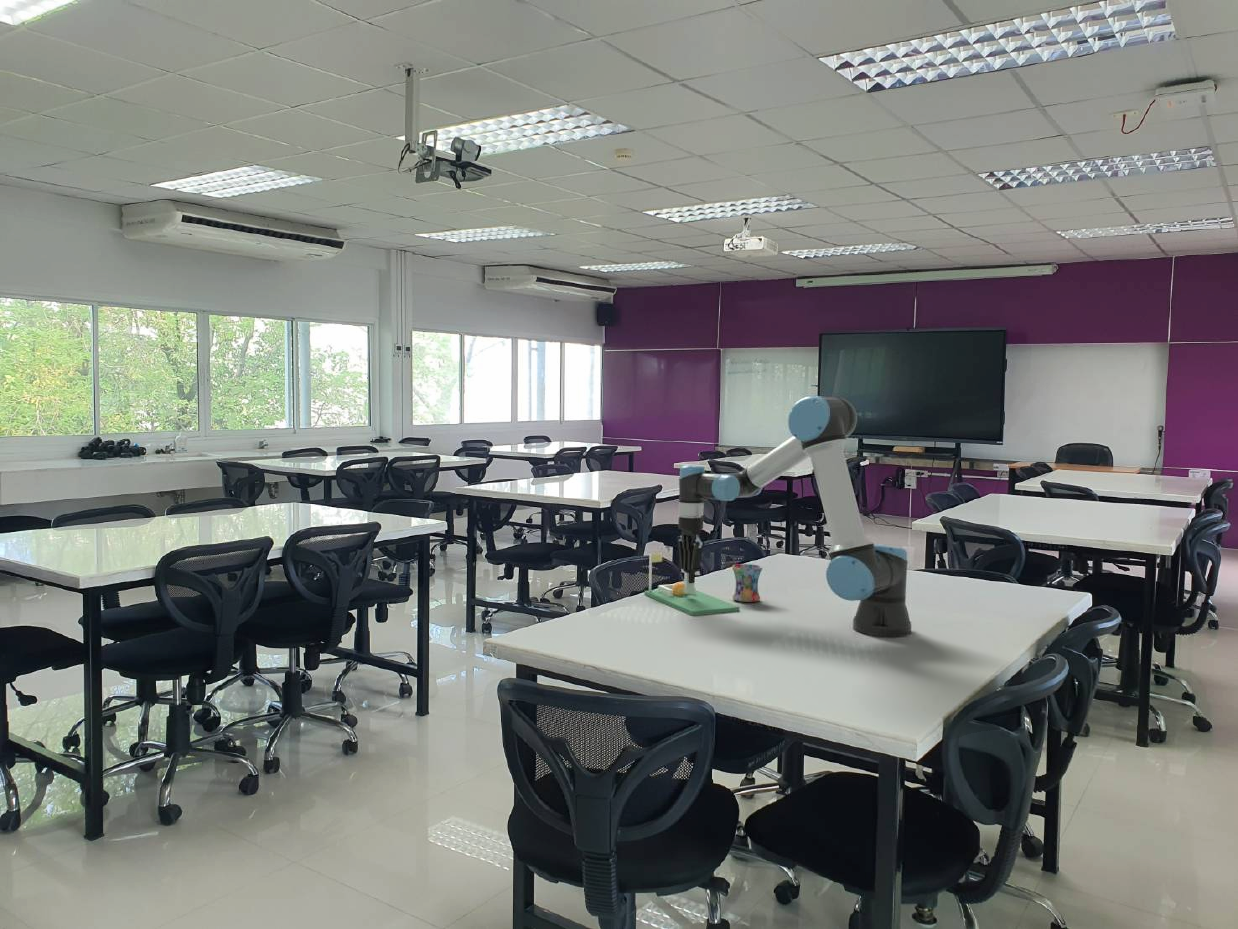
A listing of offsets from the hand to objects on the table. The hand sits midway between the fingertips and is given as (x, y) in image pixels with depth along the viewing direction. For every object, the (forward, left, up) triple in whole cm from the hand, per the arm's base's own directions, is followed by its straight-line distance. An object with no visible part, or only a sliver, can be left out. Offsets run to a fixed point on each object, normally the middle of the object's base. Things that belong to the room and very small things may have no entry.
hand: (689, 593), depth 264 cm
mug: (-4, -19, -3) cm, 20 cm away
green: (-1, 0, -3) cm, 3 cm away
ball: (+5, 0, 0) cm, 5 cm away
